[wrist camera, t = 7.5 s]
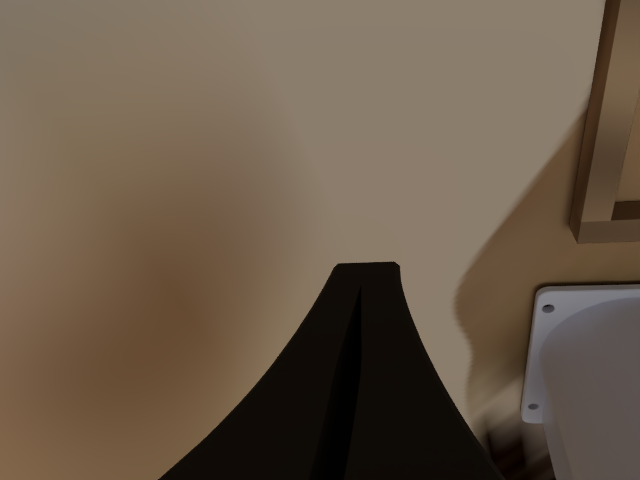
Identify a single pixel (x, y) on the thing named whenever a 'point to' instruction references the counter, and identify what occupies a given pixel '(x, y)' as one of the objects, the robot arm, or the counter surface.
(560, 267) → the counter surface
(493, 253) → the counter surface
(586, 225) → the shallow wooden tray
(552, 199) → the counter surface
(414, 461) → the robot arm
